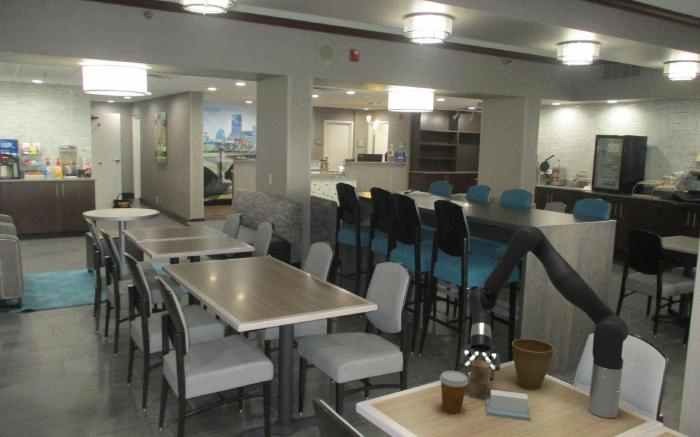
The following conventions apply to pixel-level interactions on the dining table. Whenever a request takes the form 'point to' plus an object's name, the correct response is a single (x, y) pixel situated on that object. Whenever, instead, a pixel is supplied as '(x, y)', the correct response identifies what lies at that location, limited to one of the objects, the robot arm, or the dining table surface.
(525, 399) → the butter dish
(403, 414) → the dining table surface
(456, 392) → the disposable coffee cup
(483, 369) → the post
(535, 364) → the plant pot
